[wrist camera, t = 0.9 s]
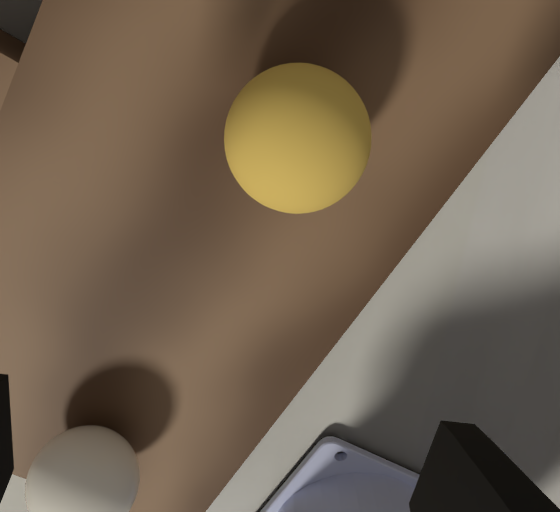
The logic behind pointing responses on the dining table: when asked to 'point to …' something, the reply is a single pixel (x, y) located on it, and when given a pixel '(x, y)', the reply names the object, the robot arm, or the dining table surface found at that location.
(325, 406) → the dining table surface
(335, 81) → the ball
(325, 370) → the dining table surface
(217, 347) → the hole plate
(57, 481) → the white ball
